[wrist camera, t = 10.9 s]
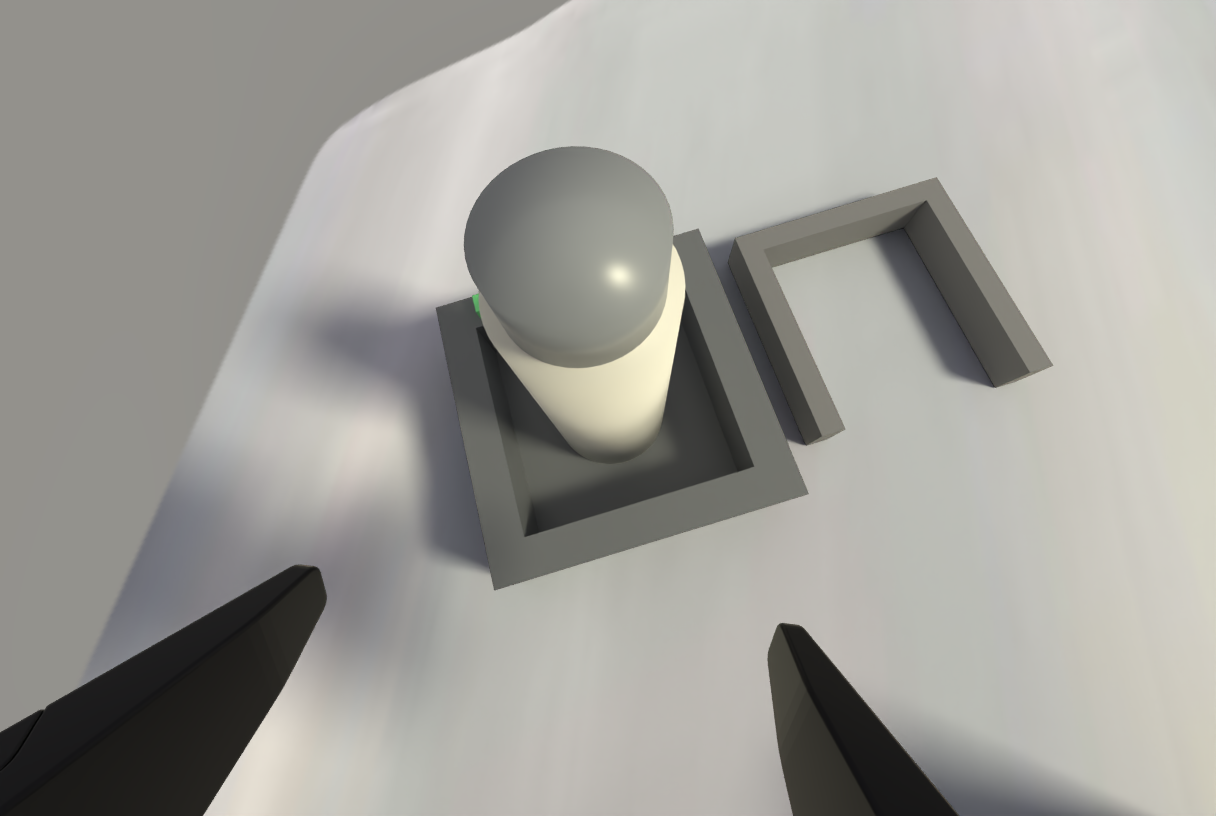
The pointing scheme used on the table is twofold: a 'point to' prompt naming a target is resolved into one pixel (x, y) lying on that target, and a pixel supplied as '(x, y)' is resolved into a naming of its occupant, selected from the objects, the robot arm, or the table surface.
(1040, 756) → the table surface
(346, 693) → the table surface
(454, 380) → the dock
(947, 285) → the grey u-shaped rail
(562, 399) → the plug
